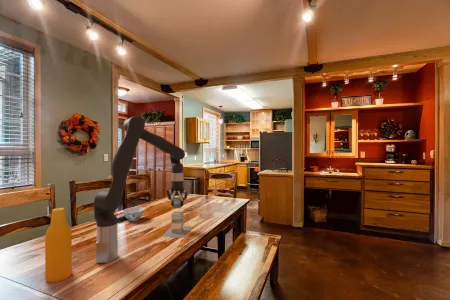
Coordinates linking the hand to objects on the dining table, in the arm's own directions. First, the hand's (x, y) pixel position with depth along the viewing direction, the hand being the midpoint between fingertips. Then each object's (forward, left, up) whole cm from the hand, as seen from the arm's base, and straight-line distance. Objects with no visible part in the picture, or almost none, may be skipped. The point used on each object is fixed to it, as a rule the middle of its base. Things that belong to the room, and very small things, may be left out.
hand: (177, 206), depth 146 cm
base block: (0, 0, -16) cm, 16 cm away
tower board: (0, 0, -17) cm, 17 cm away
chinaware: (+23, +41, -18) cm, 50 cm away
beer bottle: (-52, +36, -18) cm, 66 cm away
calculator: (+24, +53, -18) cm, 60 cm away
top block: (0, 0, -10) cm, 10 cm away
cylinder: (0, 0, -1) cm, 1 cm away
